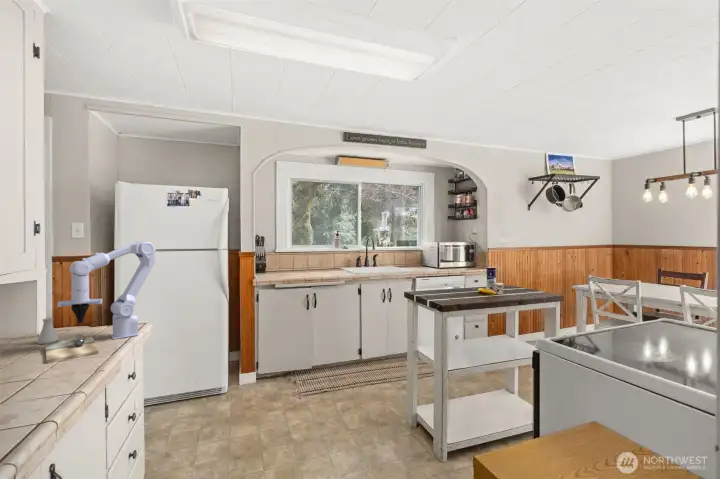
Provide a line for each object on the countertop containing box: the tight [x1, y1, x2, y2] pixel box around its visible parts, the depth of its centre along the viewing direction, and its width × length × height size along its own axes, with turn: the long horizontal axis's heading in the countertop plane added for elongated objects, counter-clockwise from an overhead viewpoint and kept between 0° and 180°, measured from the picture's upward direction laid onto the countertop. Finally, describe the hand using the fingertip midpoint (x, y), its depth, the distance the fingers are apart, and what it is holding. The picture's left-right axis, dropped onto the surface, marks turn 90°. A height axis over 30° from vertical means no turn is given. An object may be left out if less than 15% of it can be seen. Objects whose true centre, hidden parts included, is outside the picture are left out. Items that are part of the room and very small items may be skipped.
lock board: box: [44, 334, 99, 364], centre depth 138 cm, size 15×22×4 cm
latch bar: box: [73, 333, 84, 345], centre depth 143 cm, size 11×3×2 cm, turn 38°
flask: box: [35, 317, 60, 345], centre depth 149 cm, size 7×7×10 cm
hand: (80, 322), depth 146 cm, fingers closed
